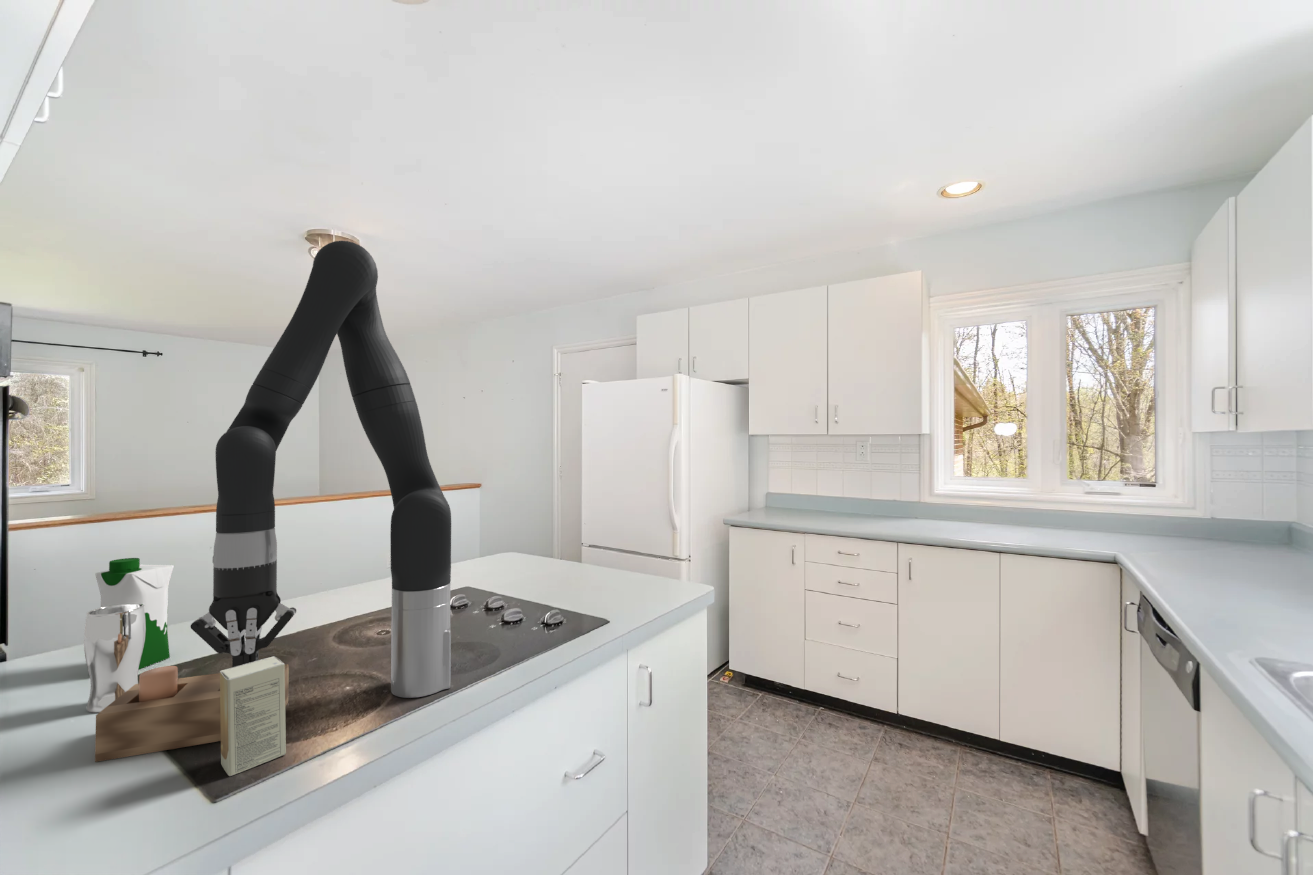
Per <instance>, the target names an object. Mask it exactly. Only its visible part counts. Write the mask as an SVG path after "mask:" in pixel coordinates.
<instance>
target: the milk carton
mask: <svg viewBox="0 0 1313 875" xmlns="http://www.w3.org/2000/svg"><path fill="white" fill-rule="evenodd" d="M140 563H141V562H140V558H138V557H127V558H118V559H113V560H110V561H109V562H108V570H104V571H100V572H95V579H96V582H97V586H98V590H99V594H100V608H102V607H106V606H112V605H118V604H127V603H141V604H144V611H145V622H146V633H145V642H144V648H143V652H142V656H141V660H140V664H139V669H138V671H139V670H142V669H145V668H146V667H150V666H152V665H155V664H157V663H160V662H162V661H165V660H167V659H169V658H170V657H171V656H170V654H171V653H170V644H169V634H168V618H169V617H168V612H169V605H168V603H169V602H168V601H169V587H170V586H169V584H170V581H171V577H172V574H173V570H174V568H175V565H174V564H142V563H141V564H140Z"/></svg>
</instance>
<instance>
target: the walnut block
mask: <svg viewBox="0 0 1313 875" xmlns="http://www.w3.org/2000/svg"><path fill="white" fill-rule="evenodd" d="M289 666H290V665H289V664H284V674H285V708H286V707H287V705H288V704H289V691H290V690H289V689H290V688H289V687H290V686H289V685H290V684H289V682H290V680H289V678H290V677H289V675H290V674H289V670H290V667H289ZM94 741H95V742H94V743H95V744H94V746H95V749H94V750H95V751H94V762H95V763H98V762H103V761H110V760H116V759H122V758H126V757H133V756H134V757H135V756H139V755H144V754H145V755H146V754H152V753H156V752H163V751H167V750H169V751H170V750H175V749H180V748H185V747H186V748H187V747H192V746H197V745H198V746H199V745H205V744H209V743H210V744H211V743H215V742H216V743H217V742H221V722H220V672H217V673H212V674H203V675H195V676H187V677H178V684H177V694H176V695H175V696H174V697H172V698H165V699H158V700H151V701H144V702H139V683H138V684H135V685H134V686H132V687H131V688H130V689H129V690H127V691H126V692H125V693H124V694H122V695H121V696H120V697H118V698H117V699H116V700H115V701H113V702H112V703H111V704H110V705H108V706H107V707H106V708H104V709H103V710H102V711H101V712H98V713H96V715H95V740H94Z"/></svg>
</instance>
